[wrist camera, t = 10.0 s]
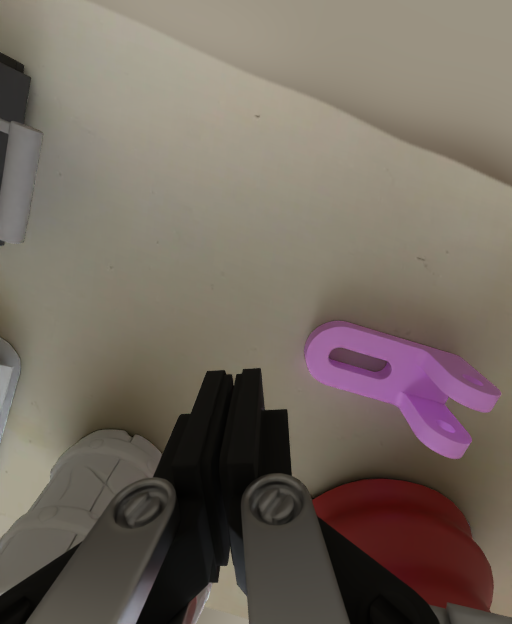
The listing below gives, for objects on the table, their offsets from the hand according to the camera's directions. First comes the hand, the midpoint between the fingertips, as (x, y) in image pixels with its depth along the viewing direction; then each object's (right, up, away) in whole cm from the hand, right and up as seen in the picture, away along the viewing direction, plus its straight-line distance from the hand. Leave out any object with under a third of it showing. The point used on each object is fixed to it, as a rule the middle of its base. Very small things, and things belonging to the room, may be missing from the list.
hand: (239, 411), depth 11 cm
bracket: (+11, -1, +20) cm, 23 cm away
